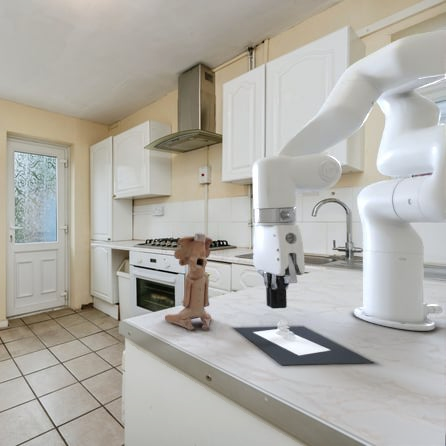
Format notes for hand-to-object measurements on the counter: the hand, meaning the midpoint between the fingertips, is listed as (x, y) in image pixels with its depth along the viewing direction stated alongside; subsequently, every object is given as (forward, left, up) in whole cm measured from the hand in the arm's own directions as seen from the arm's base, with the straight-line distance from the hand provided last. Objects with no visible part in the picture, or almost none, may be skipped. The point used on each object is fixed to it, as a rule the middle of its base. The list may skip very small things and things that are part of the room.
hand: (276, 306), depth 56 cm
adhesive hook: (+1, +5, -5) cm, 7 cm away
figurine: (+17, -4, -5) cm, 18 cm away
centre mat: (+1, +6, -5) cm, 8 cm away
